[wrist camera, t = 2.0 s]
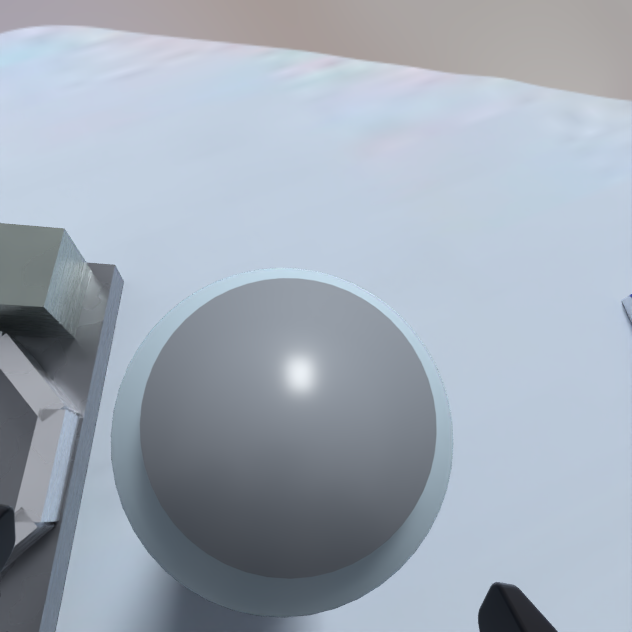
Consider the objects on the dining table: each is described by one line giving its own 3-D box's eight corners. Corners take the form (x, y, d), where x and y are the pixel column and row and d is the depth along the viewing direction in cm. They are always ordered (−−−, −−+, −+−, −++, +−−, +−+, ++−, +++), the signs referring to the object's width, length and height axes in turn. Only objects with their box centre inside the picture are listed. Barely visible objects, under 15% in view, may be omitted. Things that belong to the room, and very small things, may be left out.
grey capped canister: (324, 544, 17) (495, 623, 6) (190, 544, 17) (55, 633, 5) (325, 412, 19) (451, 262, 7) (204, 408, 19) (133, 236, 7)
